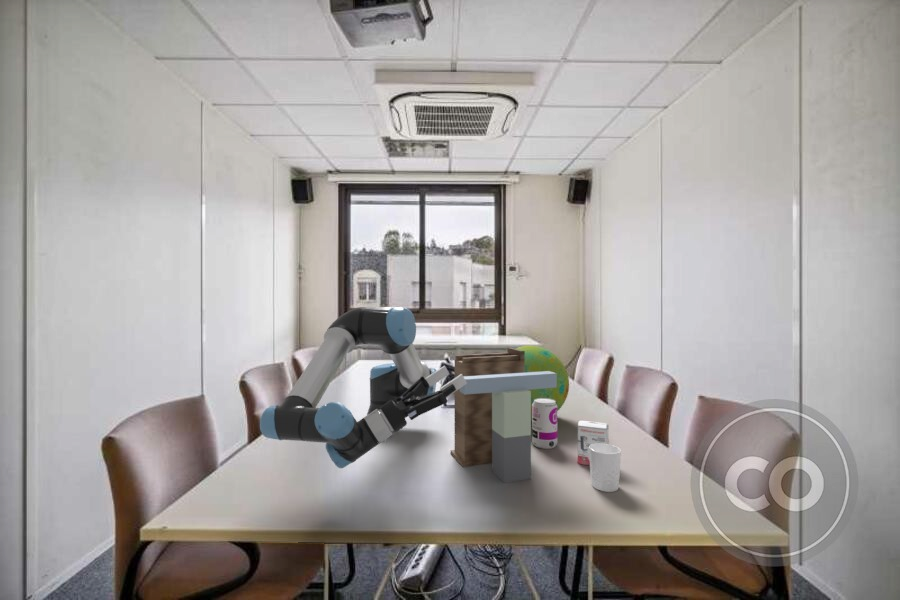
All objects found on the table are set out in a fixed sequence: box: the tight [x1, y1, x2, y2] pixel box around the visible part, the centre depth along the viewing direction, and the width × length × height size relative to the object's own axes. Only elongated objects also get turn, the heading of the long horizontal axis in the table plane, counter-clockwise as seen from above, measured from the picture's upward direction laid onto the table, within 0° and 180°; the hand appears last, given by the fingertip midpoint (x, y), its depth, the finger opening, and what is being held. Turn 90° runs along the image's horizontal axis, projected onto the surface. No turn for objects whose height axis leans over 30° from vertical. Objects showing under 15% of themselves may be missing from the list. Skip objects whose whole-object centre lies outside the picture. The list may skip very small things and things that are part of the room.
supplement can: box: [531, 398, 558, 450], centre depth 139 cm, size 8×8×15 cm
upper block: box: [492, 390, 532, 438], centre depth 116 cm, size 8×8×12 cm
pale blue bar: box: [460, 371, 557, 395], centre depth 116 cm, size 28×4×4 cm, turn 108°
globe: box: [515, 345, 570, 422], centre depth 170 cm, size 30×30×30 cm
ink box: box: [577, 420, 609, 466], centre depth 124 cm, size 9×5×12 cm, turn 68°
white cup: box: [589, 443, 622, 493], centre depth 109 cm, size 8×8×10 cm
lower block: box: [491, 430, 532, 484], centre depth 116 cm, size 8×8×12 cm
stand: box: [450, 347, 525, 467], centre depth 130 cm, size 22×11×33 cm, turn 108°
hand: (455, 373), depth 111 cm, fingers open, 13 cm apart
